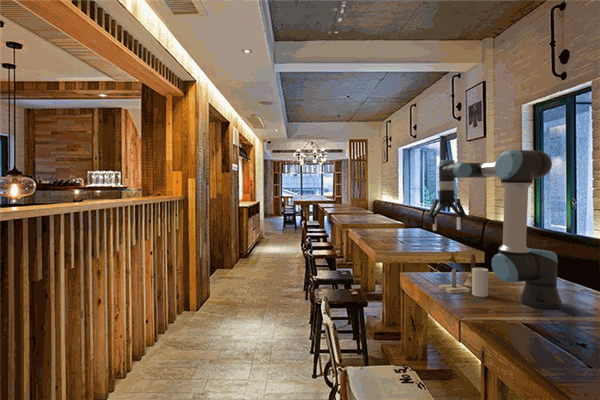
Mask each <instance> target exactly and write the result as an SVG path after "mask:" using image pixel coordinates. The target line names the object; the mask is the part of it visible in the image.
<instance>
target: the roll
mask: <svg viewBox="0 0 600 400" xmlns="http://www.w3.org/2000/svg"><path fill="white" fill-rule="evenodd" d="M471 295H472V296H473V295H474V297H477V296H478V297H477V298H487V297H489V269H488V268H486V267H475V268H472V287H471ZM486 296H487V297H486Z"/></svg>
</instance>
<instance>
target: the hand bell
mask: <svg viewBox="0 0 600 400" xmlns="http://www.w3.org/2000/svg"><path fill="white" fill-rule="evenodd" d="M469 261H470V273H469V274H468V275H467V277H466V278H467V279H466V280H465V282H464V283H463V286H464V285H465V286H464V287H466V286H469V287H468V288H472V268H476V264H477V263H476V262H477V259H476V255H475V254H474V253H471V256H470V259H469Z"/></svg>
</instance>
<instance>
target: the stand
mask: <svg viewBox="0 0 600 400" xmlns="http://www.w3.org/2000/svg"><path fill="white" fill-rule="evenodd" d="M438 289H440V290H442V291H444V292H446V293H449V294H460V293H462V292H463V293H470V291H471V289H470V287H466V286H464V285H461V284H458V283H457V269H456V268H452V270H451V284H438Z"/></svg>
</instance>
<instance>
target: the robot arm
mask: <svg viewBox="0 0 600 400" xmlns="http://www.w3.org/2000/svg"><path fill="white" fill-rule="evenodd" d="M438 163H439V165H438V178H439V183H438V185H439V188H438V189H439V191H438V192H439V195H438V197H439V199H438V198H433V201H432V205H431V207H430V209H429V211H428V213H427V217H429V218H431V221H430V222H431V225H432V231H434V232H435V231H437V229H438V228H437V225H438V224H437V223H438V221H437V220H438V219H437V215H438V214H440V212H441V210H442V209H444V208H451V209H452V211H453V212H454V213H455V214H456V216H457V217H456V230H458V231H460V230H462V227H461V226H462V224H463V218H464V217H465V216H467V214H466V212H465V210H464V208H463V206H462V203H461V199H460V198H455V190H454V189H455V179H456V178H457V179H459V178H460V179H463V178H464V179H467V178H468V179H471V178H473V179H474V178H476V179H477V178H478V179H479V178H482V179H486V178H487V179H488V178H493V177H494V178H495V177H498V178H499V179H500V184H501V185H502V186H503V187H504V196H503V197H504V198H503V225H502V226H503V227H502V244H501V245H500V246H499V247H498V253H497V254H495V255H493V257H492V258H491V268H492V271H493V273H494V275H495V277H497V279H498V280H500V281H502V282H503V283H517V282H524V287H523V289H522V294H520V299H519V301H520V303H521V304H523V305H524V306H527V307H531V308H537V309H545V310H546V309H547V310H555V309H560V308H562V305H563V304H562V303H563V301H562V299H561V297H560V294H559V290H558V264H559V262H558V255H557V253H556V252H554V251H551V250H546V249H545V250H544V249H538V248H537V249H536V248H530V247H528V246H527V231H528V230H527V227H528V205H529V188H530V186H531V187H532V185H533V183H534V182H533V181H534V179H540V178H543V177H546V176H547V175H548V174H549V173H550V172H551V169H552V167H553V161H552V158H551V157H550V155H548V153H546V152H544V151H542V150H538V149H537V150H536V149H535V150H534V149H533V150H530V149H529V150H527V149H512V150H505V151H504V152H502V153H501V154H500V155H499V156H498V157H497V159H496V160H494V161H484V162H464V161H460V162H455V160H454V159H442V160H440V161H439V162H438ZM455 204H456V205H455ZM437 205H438V206H437Z"/></svg>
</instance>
